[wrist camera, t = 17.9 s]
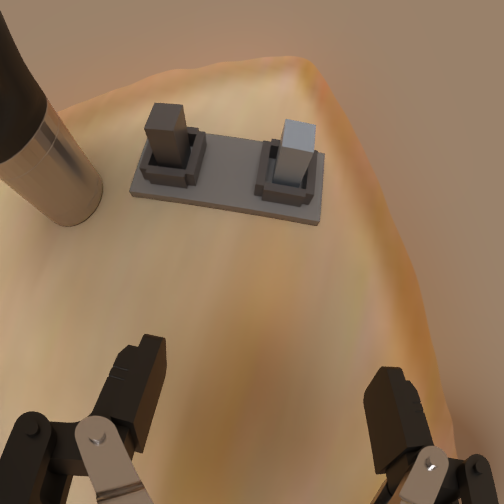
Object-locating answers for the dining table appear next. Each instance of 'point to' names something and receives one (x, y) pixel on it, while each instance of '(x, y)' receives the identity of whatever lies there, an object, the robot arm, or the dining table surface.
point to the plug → (294, 153)
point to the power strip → (221, 171)
